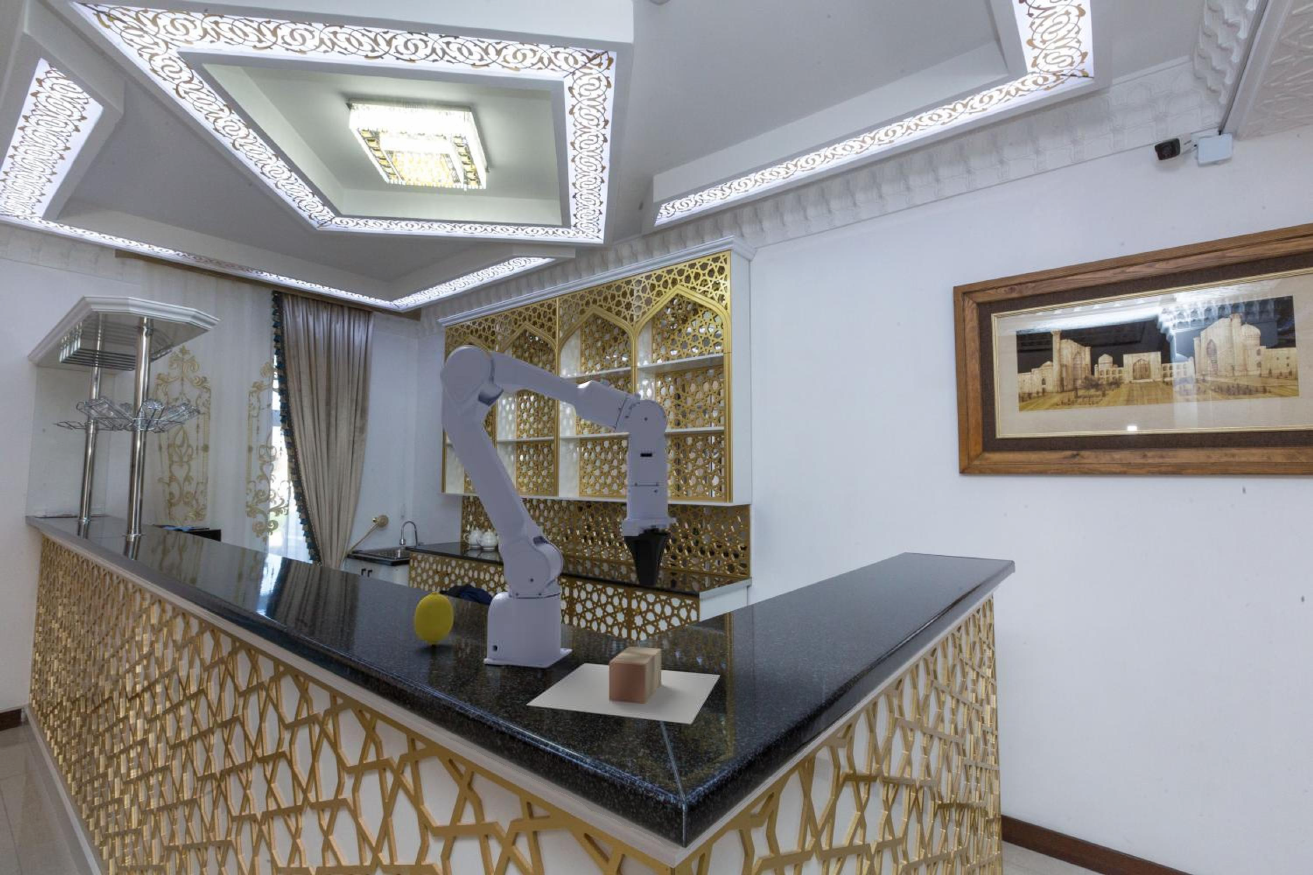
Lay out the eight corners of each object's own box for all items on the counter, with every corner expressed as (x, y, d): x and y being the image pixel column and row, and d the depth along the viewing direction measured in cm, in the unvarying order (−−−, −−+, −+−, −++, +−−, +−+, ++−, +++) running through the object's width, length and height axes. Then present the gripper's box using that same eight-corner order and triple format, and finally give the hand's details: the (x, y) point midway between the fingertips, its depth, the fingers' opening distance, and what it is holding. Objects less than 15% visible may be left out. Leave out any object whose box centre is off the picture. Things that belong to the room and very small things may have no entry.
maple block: (629, 680, 68) (609, 700, 62) (629, 646, 68) (609, 661, 62) (661, 684, 67) (644, 703, 61) (661, 648, 67) (643, 664, 61)
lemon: (449, 639, 89) (450, 587, 90) (455, 647, 84) (456, 592, 85) (411, 644, 86) (412, 590, 87) (415, 653, 82) (416, 596, 82)
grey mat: (526, 708, 61) (526, 704, 61) (584, 666, 75) (584, 663, 75) (691, 727, 55) (691, 723, 55) (720, 678, 70) (720, 675, 70)
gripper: (658, 485, 72) (659, 595, 71) (688, 486, 86) (689, 578, 84) (606, 486, 74) (606, 593, 73) (644, 486, 88) (644, 576, 87)
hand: (647, 585), depth 79 cm, fingers closed
